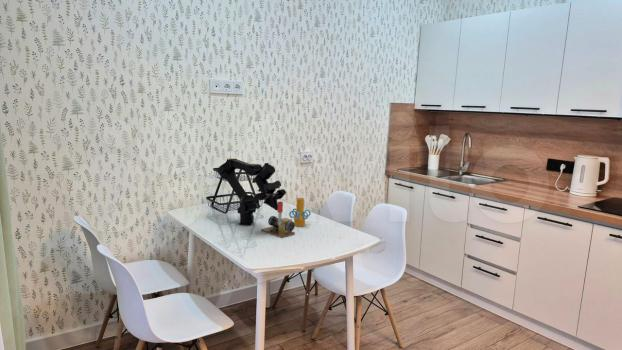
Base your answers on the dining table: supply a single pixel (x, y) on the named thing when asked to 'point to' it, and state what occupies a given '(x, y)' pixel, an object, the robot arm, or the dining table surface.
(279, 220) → the lever
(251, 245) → the dining table surface
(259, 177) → the robot arm
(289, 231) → the valve
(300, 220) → the orange post with rings
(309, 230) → the dining table surface
